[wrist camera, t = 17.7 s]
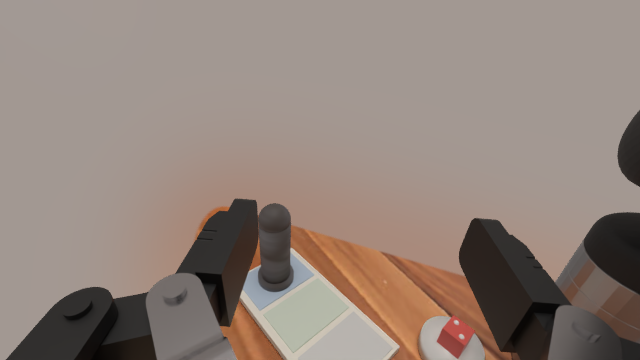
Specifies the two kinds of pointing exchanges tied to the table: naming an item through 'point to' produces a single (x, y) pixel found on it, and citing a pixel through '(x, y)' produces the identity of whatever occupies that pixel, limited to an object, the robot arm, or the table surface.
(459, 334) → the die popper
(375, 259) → the table surface
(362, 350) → the game board
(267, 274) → the charcoal pawn
